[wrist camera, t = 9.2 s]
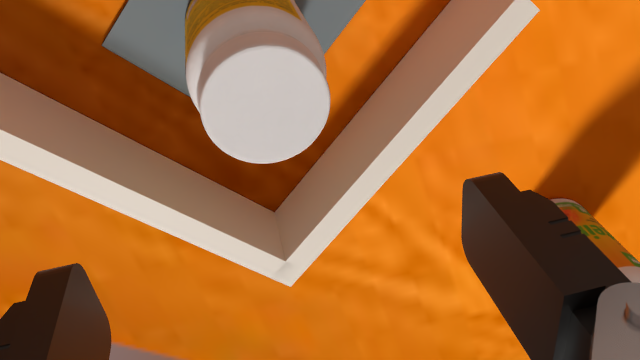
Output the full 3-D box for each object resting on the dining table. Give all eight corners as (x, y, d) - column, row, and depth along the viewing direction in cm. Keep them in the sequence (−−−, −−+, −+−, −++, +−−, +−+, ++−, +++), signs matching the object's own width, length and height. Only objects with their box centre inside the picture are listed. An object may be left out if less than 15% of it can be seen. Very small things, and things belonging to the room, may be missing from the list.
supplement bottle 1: (160, 16, 23) (149, 102, 16) (246, -63, 22) (275, -8, 15) (238, 95, 25) (259, 200, 18) (319, 28, 24) (372, 112, 17)
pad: (364, -2, 24) (365, 0, 24) (259, 134, 27) (259, 137, 26) (207, -130, 20) (207, -130, 20) (102, 43, 23) (101, 45, 23)
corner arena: (493, -15, 25) (539, 10, 22) (279, 236, 30) (290, 286, 27) (166, -336, 17) (162, -373, 14) (-45, 79, 23) (-84, 122, 19)
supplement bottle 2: (599, 202, 34) (726, 318, 26) (555, 268, 37) (658, 392, 29) (529, 189, 32) (642, 309, 24) (488, 259, 35) (578, 389, 27)
